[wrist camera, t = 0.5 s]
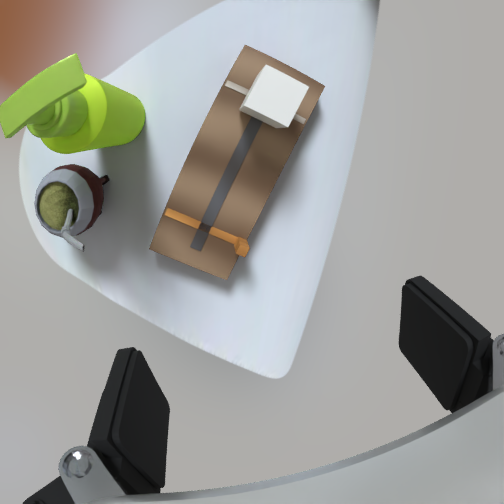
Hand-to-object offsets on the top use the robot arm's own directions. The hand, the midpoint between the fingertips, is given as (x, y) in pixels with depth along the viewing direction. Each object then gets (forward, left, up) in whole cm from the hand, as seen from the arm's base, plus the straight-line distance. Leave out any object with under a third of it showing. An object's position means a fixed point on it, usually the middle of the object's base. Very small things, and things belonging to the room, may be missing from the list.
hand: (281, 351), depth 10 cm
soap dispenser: (-4, -15, -26) cm, 30 cm away
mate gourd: (+5, -15, -26) cm, 31 cm away
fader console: (-4, -2, -26) cm, 26 cm away
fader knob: (-11, -2, -23) cm, 25 cm away
